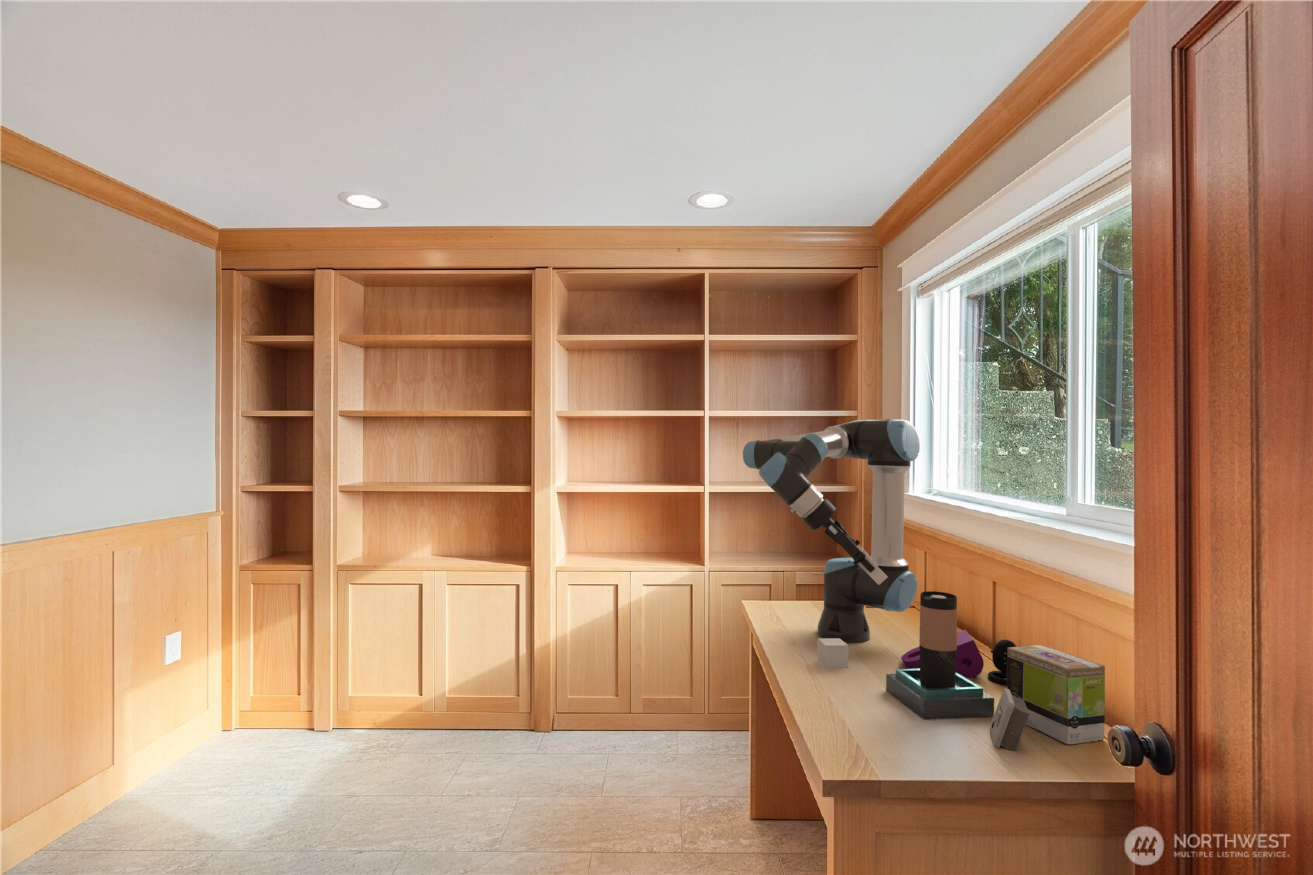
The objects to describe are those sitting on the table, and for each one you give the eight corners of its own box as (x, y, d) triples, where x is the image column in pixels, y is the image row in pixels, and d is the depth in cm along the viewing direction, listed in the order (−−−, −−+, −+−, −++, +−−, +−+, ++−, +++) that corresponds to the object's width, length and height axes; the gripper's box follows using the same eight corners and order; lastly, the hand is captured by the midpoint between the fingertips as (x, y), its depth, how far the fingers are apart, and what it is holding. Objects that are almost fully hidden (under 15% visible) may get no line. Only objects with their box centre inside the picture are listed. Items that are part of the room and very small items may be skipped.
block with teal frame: (886, 691, 153) (886, 667, 153) (950, 688, 155) (950, 665, 155) (923, 719, 137) (923, 693, 137) (993, 716, 139) (994, 690, 139)
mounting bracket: (918, 696, 166) (989, 672, 162) (903, 665, 167) (973, 639, 163) (913, 683, 175) (980, 660, 171) (899, 653, 176) (965, 629, 172)
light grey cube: (825, 669, 168) (825, 645, 168) (817, 661, 174) (817, 638, 174) (848, 668, 168) (848, 645, 168) (839, 660, 174) (839, 638, 174)
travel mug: (954, 681, 148) (955, 592, 149) (958, 693, 141) (959, 600, 141) (918, 677, 151) (919, 589, 151) (919, 688, 144) (920, 596, 144)
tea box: (1106, 740, 129) (1107, 665, 129) (1066, 746, 126) (1067, 669, 126) (1041, 710, 143) (1042, 642, 143) (1004, 715, 140) (1005, 645, 140)
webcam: (1008, 688, 156) (1009, 646, 156) (980, 678, 163) (981, 637, 163) (1029, 683, 160) (1029, 642, 160) (1000, 673, 166) (1001, 633, 167)
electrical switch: (989, 729, 133) (994, 684, 132) (1018, 737, 131) (1023, 691, 130) (993, 749, 124) (999, 701, 124) (1024, 757, 122) (1030, 708, 122)
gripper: (800, 512, 169) (860, 574, 166) (803, 526, 144) (874, 598, 141) (821, 492, 168) (882, 554, 165) (828, 502, 143) (900, 574, 140)
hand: (878, 574), depth 153 cm, fingers open, 13 cm apart
